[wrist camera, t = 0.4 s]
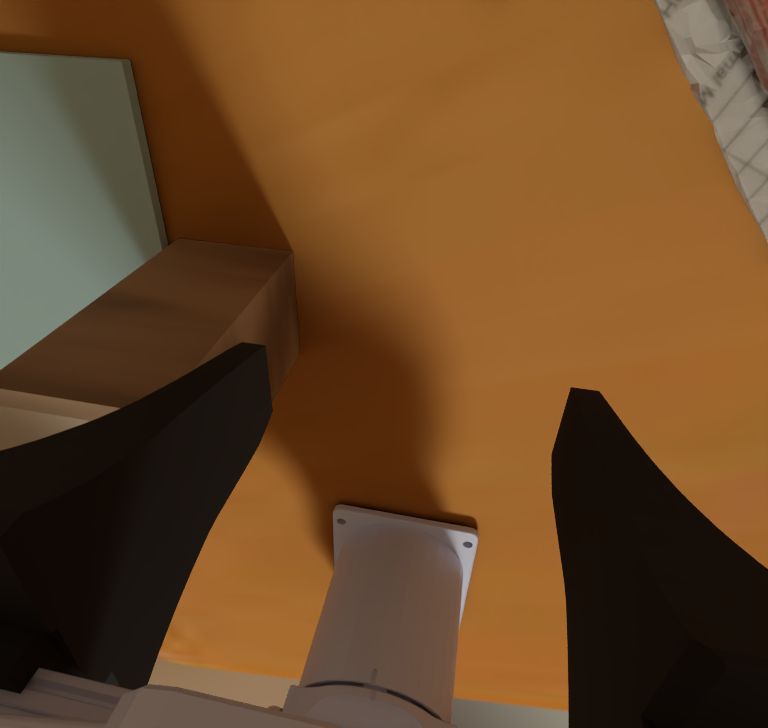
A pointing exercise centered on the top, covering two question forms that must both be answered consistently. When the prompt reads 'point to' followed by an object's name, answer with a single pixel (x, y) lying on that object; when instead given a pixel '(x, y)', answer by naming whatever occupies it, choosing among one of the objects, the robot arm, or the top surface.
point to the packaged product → (729, 82)
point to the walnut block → (153, 336)
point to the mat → (69, 190)
